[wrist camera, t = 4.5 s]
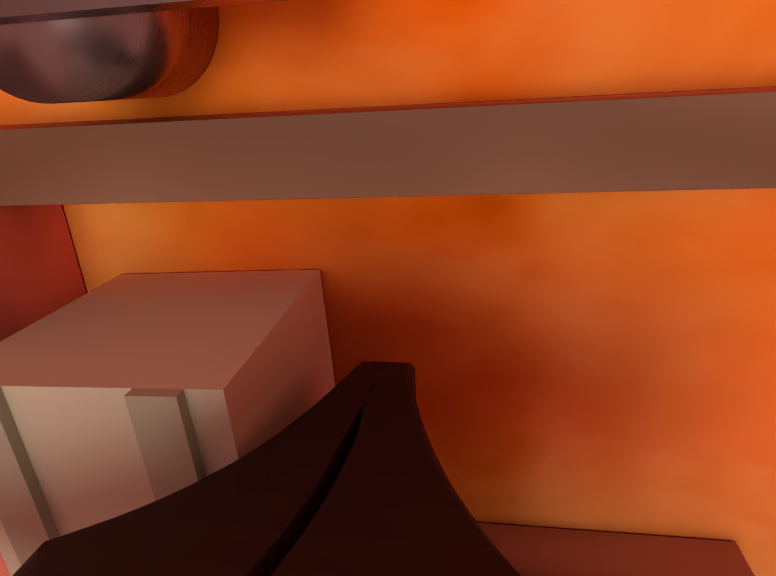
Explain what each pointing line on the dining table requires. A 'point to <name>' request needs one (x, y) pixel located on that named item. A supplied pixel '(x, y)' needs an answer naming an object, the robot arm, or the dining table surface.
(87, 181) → the bay
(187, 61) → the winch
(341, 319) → the dining table surface
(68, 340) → the crate
